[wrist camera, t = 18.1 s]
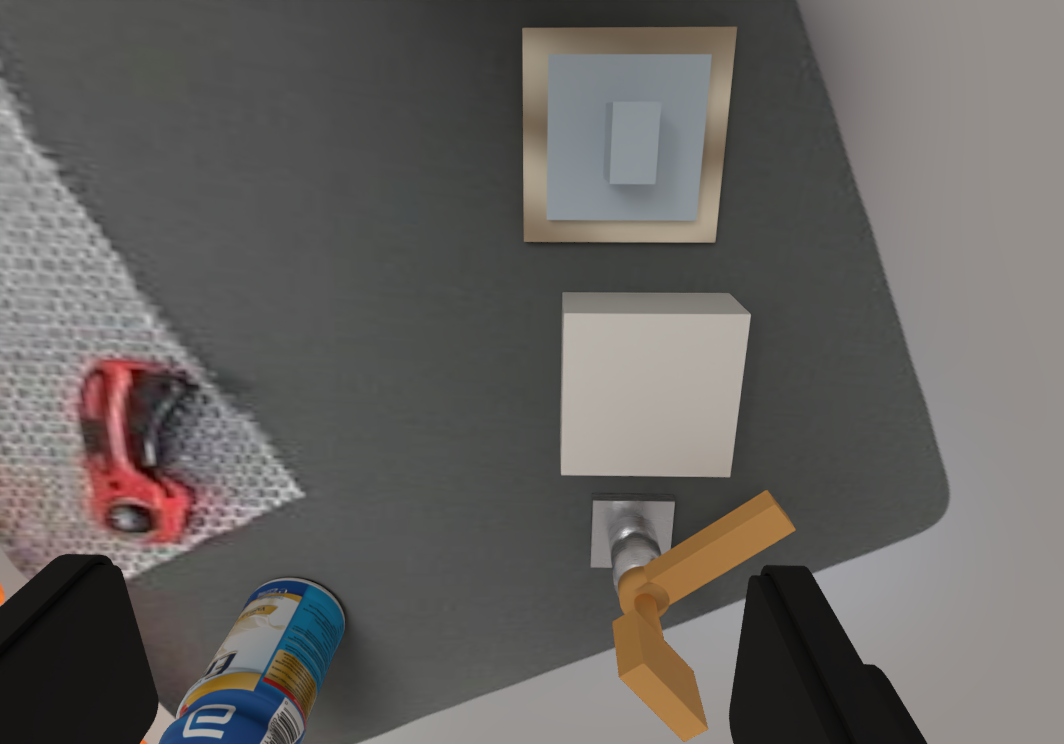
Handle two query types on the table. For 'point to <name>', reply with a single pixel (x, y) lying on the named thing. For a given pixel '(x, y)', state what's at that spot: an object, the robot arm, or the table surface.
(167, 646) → the table surface
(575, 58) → the cover
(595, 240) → the pad
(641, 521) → the grey square flange base
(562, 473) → the housing
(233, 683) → the beverage bottle
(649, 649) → the latch
